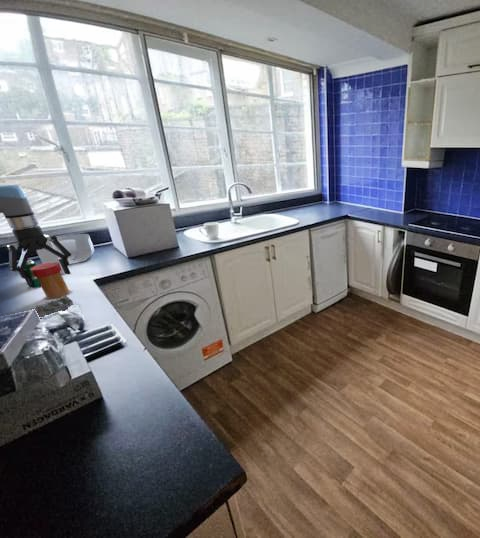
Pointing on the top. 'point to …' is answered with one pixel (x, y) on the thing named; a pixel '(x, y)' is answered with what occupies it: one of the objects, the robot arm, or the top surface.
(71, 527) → the top surface
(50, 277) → the jar
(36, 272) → the lid
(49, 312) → the egg carton
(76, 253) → the bowl
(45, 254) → the milk
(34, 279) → the soda can
